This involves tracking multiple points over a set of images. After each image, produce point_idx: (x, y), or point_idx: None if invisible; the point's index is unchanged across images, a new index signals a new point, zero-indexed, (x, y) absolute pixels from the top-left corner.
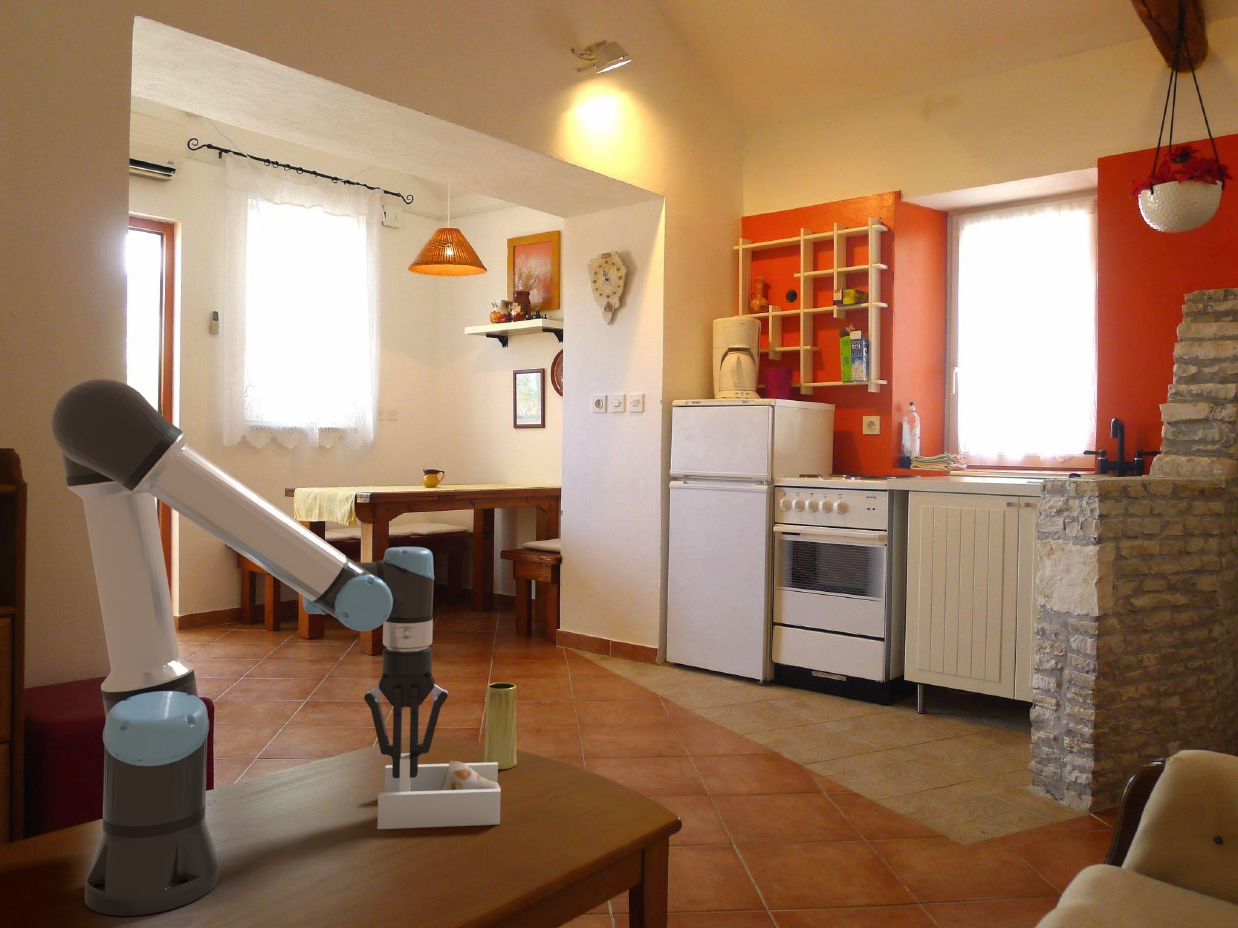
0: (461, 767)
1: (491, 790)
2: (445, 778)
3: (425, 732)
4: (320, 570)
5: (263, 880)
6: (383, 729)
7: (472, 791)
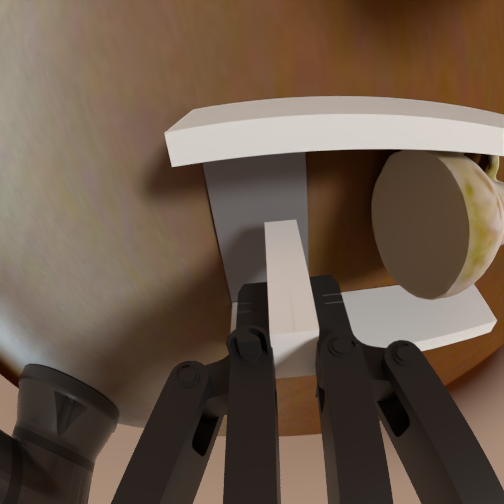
0: (477, 279)
1: (479, 331)
2: (418, 297)
3: (415, 419)
4: None
5: (148, 404)
6: (193, 495)
7: (448, 341)
